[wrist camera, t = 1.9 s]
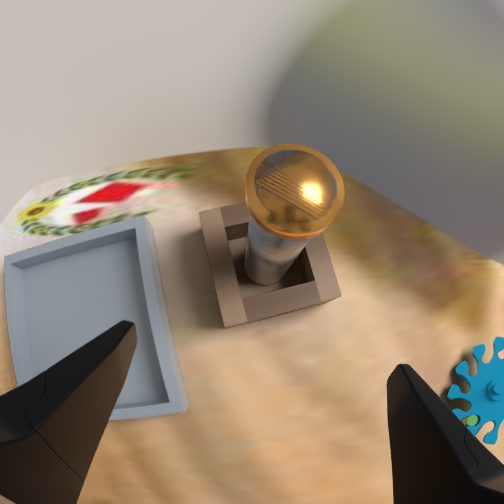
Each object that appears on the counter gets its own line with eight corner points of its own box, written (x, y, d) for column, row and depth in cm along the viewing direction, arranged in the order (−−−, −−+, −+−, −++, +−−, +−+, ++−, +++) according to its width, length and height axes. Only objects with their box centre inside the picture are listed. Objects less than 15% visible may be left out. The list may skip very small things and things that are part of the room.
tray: (189, 404, 20) (184, 411, 17) (42, 416, 18) (26, 421, 16) (152, 227, 23) (144, 215, 21) (19, 264, 22) (4, 256, 19)
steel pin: (295, 282, 23) (358, 220, 11) (246, 294, 22) (260, 241, 10) (282, 235, 24) (324, 138, 12) (235, 246, 23) (235, 151, 11)
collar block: (328, 301, 23) (341, 296, 20) (225, 328, 22) (224, 327, 19) (299, 207, 25) (307, 190, 22) (202, 227, 24) (198, 212, 21)
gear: (483, 317, 21) (561, 359, 13) (479, 338, 25) (544, 376, 17) (418, 419, 20) (496, 474, 12) (422, 424, 23) (487, 470, 15)
